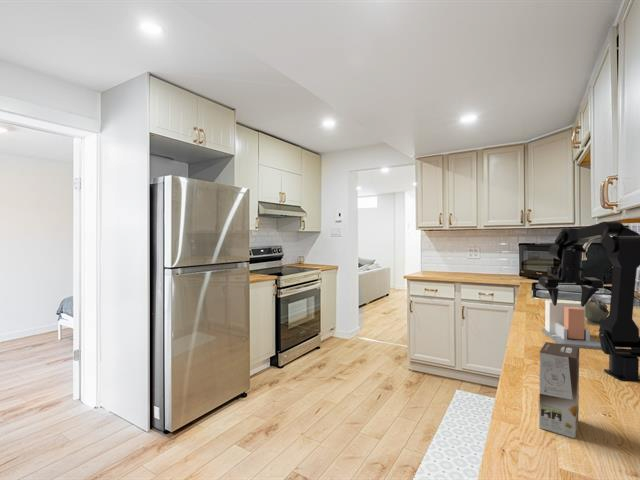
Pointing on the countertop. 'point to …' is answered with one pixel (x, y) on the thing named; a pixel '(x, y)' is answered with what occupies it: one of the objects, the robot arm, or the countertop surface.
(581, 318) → the plug
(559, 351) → the coffee box
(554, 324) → the test rig
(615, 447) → the countertop surface
